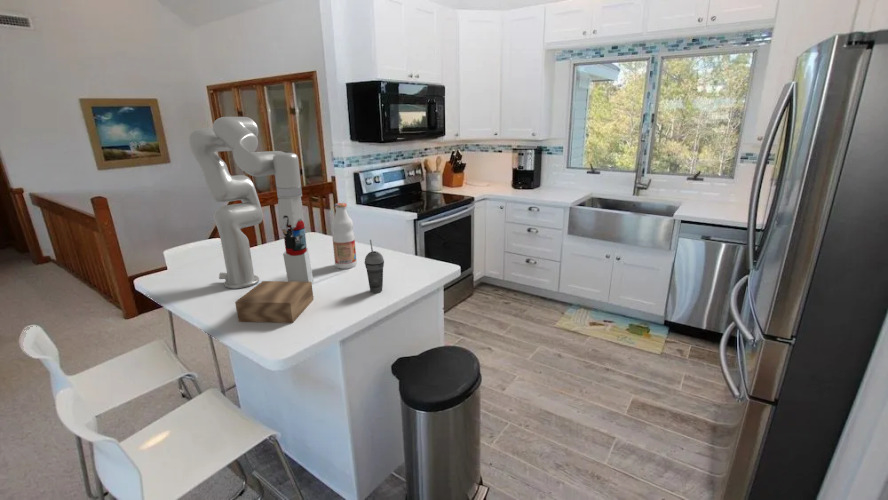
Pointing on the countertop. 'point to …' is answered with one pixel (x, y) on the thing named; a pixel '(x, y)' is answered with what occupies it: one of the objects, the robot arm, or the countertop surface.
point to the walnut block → (275, 302)
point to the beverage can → (298, 240)
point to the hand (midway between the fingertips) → (295, 244)
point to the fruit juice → (343, 238)
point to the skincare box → (298, 267)
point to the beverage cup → (374, 270)
